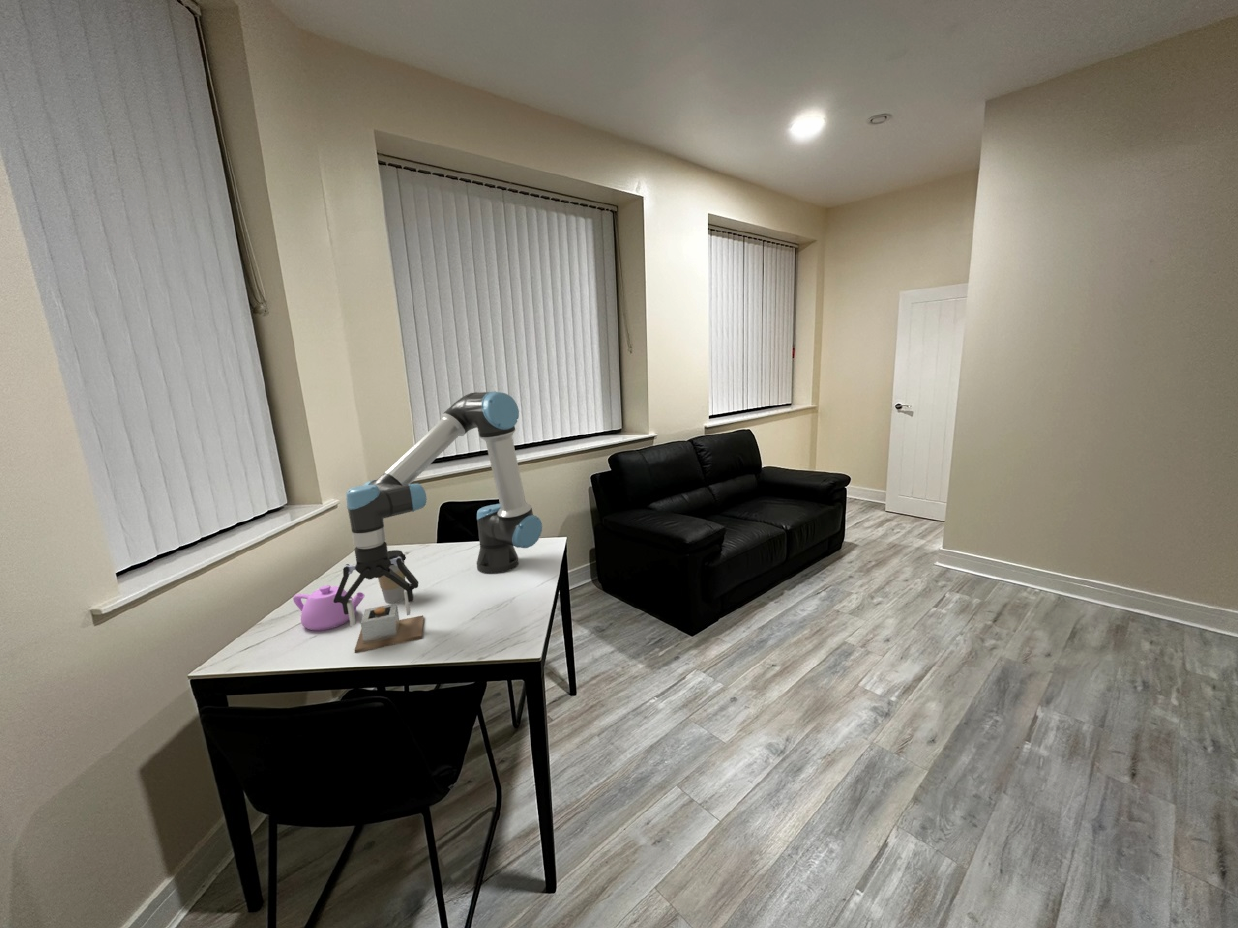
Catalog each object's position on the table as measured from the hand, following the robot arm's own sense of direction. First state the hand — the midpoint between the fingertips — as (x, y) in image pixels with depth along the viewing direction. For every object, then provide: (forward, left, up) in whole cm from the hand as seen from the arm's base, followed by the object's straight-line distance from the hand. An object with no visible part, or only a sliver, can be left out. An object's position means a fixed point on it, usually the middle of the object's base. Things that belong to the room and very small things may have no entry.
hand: (381, 618), depth 125 cm
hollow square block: (0, 0, -4) cm, 4 cm away
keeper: (-2, 0, -5) cm, 5 cm away
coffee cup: (-1, -23, -5) cm, 24 cm away
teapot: (+15, -16, -5) cm, 23 cm away
